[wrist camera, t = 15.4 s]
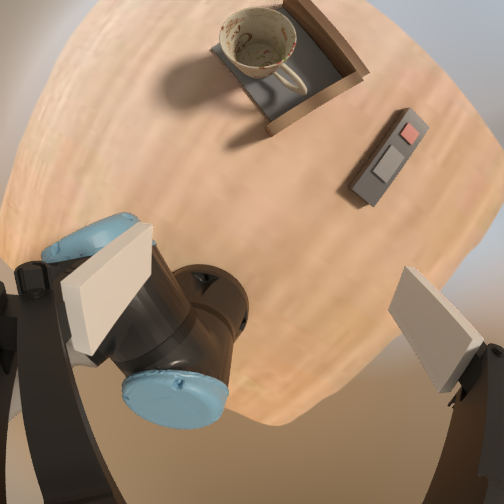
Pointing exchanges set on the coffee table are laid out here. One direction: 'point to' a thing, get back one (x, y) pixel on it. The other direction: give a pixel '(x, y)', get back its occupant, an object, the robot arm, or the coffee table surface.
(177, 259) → the coffee table surface
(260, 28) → the mug
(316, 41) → the brown corner wall
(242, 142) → the coffee table surface
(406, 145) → the remote
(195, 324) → the robot arm
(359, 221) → the coffee table surface
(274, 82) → the mat
